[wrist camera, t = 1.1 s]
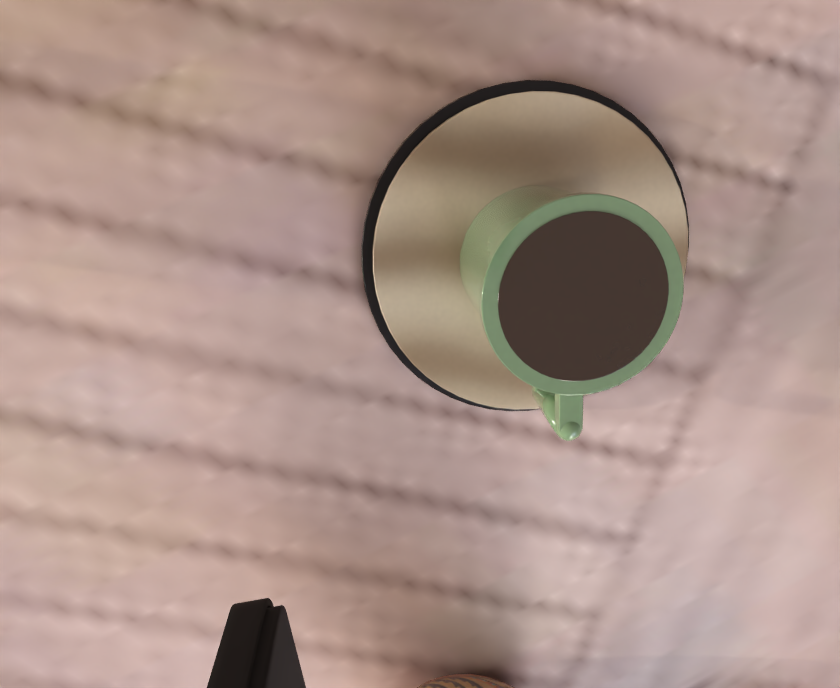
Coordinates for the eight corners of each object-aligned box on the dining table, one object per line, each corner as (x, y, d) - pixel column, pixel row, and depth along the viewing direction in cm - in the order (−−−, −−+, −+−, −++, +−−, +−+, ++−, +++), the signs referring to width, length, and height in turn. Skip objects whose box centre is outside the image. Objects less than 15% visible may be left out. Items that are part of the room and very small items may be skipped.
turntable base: (306, 329, 35) (305, 332, 34) (458, 13, 31) (459, 11, 31) (580, 452, 38) (583, 457, 38) (745, 180, 35) (751, 181, 34)
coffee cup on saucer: (360, 100, 31) (363, 92, 23) (692, 83, 32) (802, 70, 24) (383, 416, 35) (393, 500, 28) (673, 392, 37) (761, 465, 29)
